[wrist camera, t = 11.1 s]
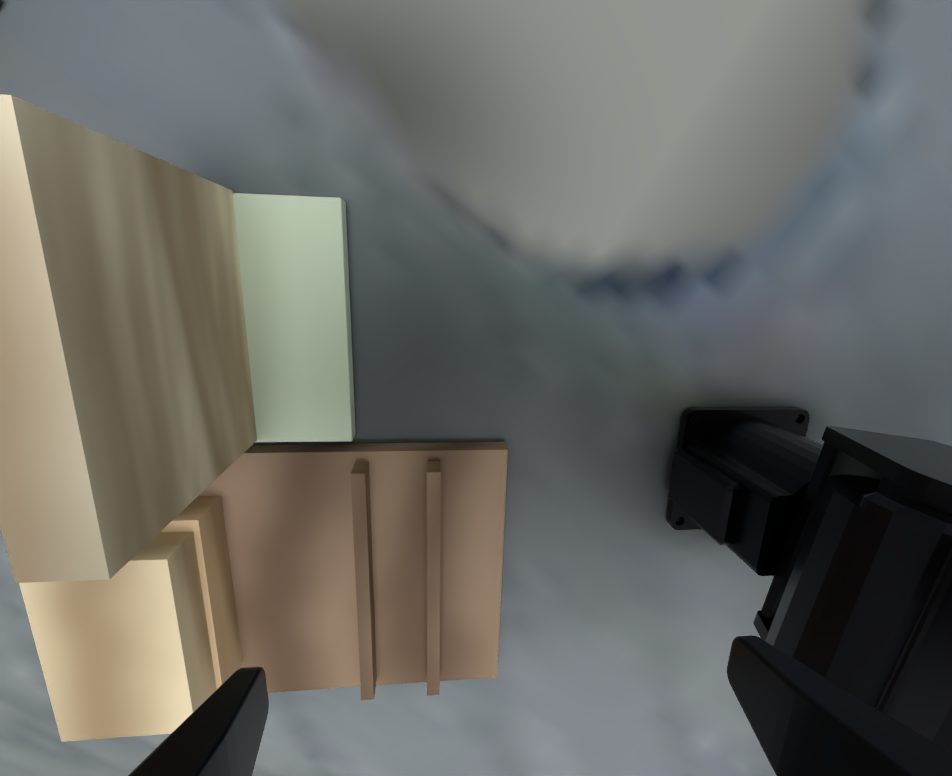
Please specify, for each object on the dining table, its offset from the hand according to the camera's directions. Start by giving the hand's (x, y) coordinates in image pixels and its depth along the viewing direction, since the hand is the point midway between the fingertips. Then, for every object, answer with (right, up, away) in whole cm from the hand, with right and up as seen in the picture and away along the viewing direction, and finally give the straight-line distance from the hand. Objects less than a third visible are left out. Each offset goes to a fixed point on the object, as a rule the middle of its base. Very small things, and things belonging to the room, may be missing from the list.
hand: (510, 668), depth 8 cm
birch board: (-11, +8, +9) cm, 16 cm away
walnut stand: (-9, -4, +13) cm, 17 cm away
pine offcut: (-15, -4, +10) cm, 18 cm away
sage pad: (-11, +8, +10) cm, 17 cm away
